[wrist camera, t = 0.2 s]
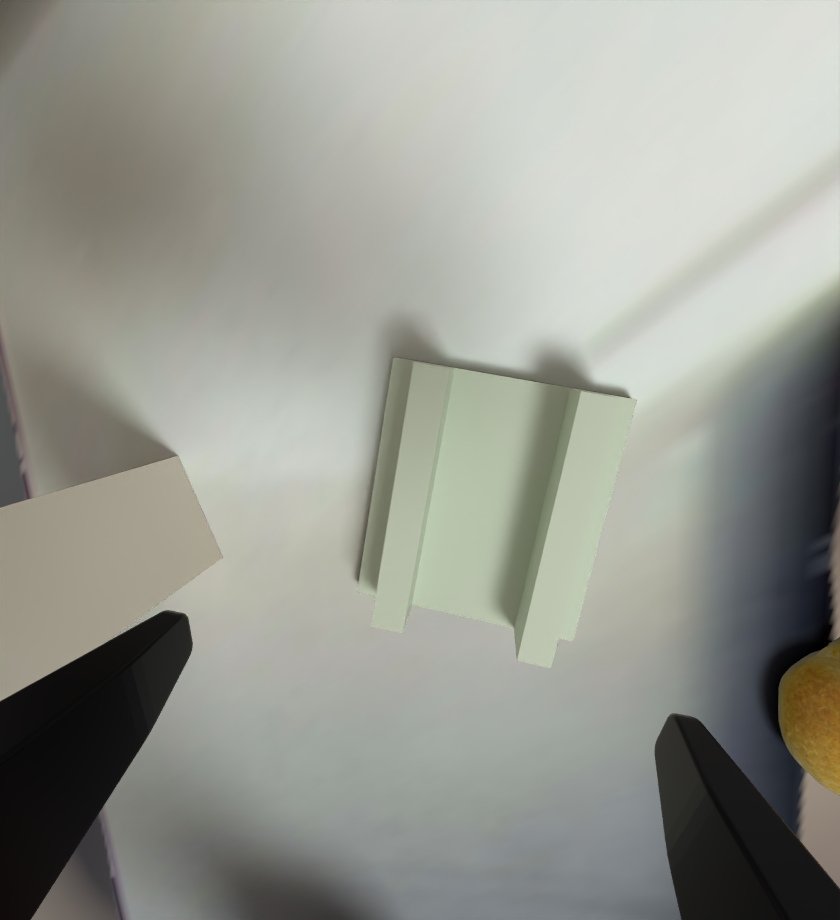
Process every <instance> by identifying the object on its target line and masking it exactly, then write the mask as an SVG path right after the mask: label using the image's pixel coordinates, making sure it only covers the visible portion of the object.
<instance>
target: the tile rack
mask: <svg viewBox="0 0 840 920" xmlns="http://www.w3.org/2000/svg"><path fill="white" fill-rule="evenodd" d="M636 401H637V400H636V399H632V398H626V397H621V396H615V395H609V394H603V393H598V392H592V391H586V390H580V389H575V388H569V387H563V386H557V385H552V384H546V383H540V382H534V381H529V380H523V379H517V378H512V377H506V376H500V375H494V374H489V373H483V372H477V371H471V370H466V369H460V368H454V367H448V366H443V365H437V364H431V363H425V362H420V361H414V360H408V359H403V358H397V357H393V361H392V367H391V374H390V380H389V387H388V393H387V400H386V407H385V413H384V420H383V426H382V433H381V439H380V446H379V452H378V459H377V465H376V472H375V479H374V485H373V492H372V498H371V505H370V511H369V518H368V524H367V531H366V537H365V544H364V551H363V557H362V564H361V570H360V577H359V583H358V590H357V593H361V594H366V595H370V596H375V603H374V610H373V616H372V622H371V626H372V627H376V628H380V629H385V630H389V631H393V632H398V633H402V634H403V631H404V628H405V625H406V622H407V619H408V616H409V613H410V610H411V607H412V605H414V606H418V607H423V608H427V609H432V610H436V611H440V612H445V613H449V614H453V615H458V616H462V617H467V618H471V619H475V620H480V621H484V622H489V623H493V624H497V625H502V626H506V627H510V628H514V633H515V644H516V655H517V661H521V662H525V663H529V664H534V665H538V666H542V667H546V668H551V667H552V663H553V659H554V655H555V651H556V647H557V643H558V639H563V640H567V641H572V642H573V640H574V636H575V632H576V628H577V625H578V621H579V617H580V613H581V609H582V606H583V602H584V598H585V594H586V591H587V587H588V583H589V579H590V575H591V572H592V568H593V564H594V560H595V557H596V553H597V549H598V545H599V541H600V538H601V534H602V530H603V526H604V522H605V519H606V515H607V511H608V507H609V504H610V500H611V496H612V492H613V488H614V485H615V481H616V477H617V473H618V470H619V466H620V462H621V458H622V454H623V451H624V447H625V443H626V439H627V435H628V432H629V428H630V424H631V420H632V417H633V413H634V409H635V405H636Z"/></svg>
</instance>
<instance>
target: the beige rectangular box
mask: <svg viewBox="0 0 840 920" xmlns="http://www.w3.org/2000/svg"><path fill="white" fill-rule="evenodd" d="M222 558H223V557H222V555H221V552H220V550H219V548H218V545H217V543H216V541H215V539H214V536H213V534H212V532H211V530H210V527H209V525H208V523H207V520H206V518H205V516H204V514H203V511H202V509H201V507H200V505H199V502H198V500H197V498H196V495H195V493H194V491H193V489H192V486H191V484H190V482H189V480H188V477H187V475H186V473H185V470H184V468H183V466H182V464H181V461H180V459H179V457H178V456H176V457H172V458H169V459H165V460H162V461H158V462H155V463H152V464H148V465H145V466H141V467H138V468H135V469H131V470H128V471H124V472H121V473H117V474H114V475H111V476H107V477H104V478H100V479H97V480H94V481H90V482H87V483H83V484H80V485H76V486H73V487H70V488H66V489H63V490H59V491H56V492H52V493H49V494H46V495H42V496H39V497H35V498H32V499H29V500H25V501H22V502H18V503H15V504H11V505H8V506H5V507H2V508H0V701H1V700H3V699H5V698H7V697H8V696H10V695H12V694H14V693H16V692H17V691H19V690H21V689H23V688H25V687H26V686H28V685H30V684H32V683H34V682H36V681H37V680H39V679H41V678H43V677H45V676H46V675H48V674H50V673H52V672H54V671H55V670H57V669H59V668H61V667H63V666H64V665H66V664H68V663H70V662H72V661H73V660H75V659H77V658H79V657H81V656H83V655H84V654H86V653H88V652H90V651H92V650H93V649H95V648H97V647H99V646H101V645H102V644H104V643H105V642H107V641H108V640H109V639H111V638H112V637H114V636H115V635H116V634H118V633H119V632H121V631H122V630H123V629H125V628H126V627H127V626H129V625H130V624H132V623H133V622H134V621H136V620H137V619H139V618H140V617H141V616H143V615H144V614H145V613H147V612H148V611H150V610H151V609H152V608H154V607H155V606H157V605H158V604H159V603H161V602H162V601H163V600H165V599H166V598H168V597H169V596H170V595H172V594H173V593H175V592H176V591H177V590H179V589H180V588H181V587H183V586H184V585H186V584H187V583H188V582H190V581H191V580H193V579H194V578H195V577H197V576H198V575H199V574H201V573H202V572H204V571H205V570H206V569H208V568H209V567H211V566H212V565H213V564H215V563H216V562H217V561H219V560H220V559H222Z"/></svg>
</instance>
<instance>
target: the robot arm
mask: <svg viewBox="0 0 840 920" xmlns="http://www.w3.org/2000/svg"><path fill="white" fill-rule="evenodd" d="M192 645H193V642H192V636H191V631H190V625H189V620H188V617H187V615H186V614H184V613H180V612H175V611H170V610H166V611H163V612H160V613H158V614H157V615H155V616H153V617H151V618H149V619H148V620H146V621H144V622H142V623H140V624H139V625H137V626H135V627H133V628H131V629H129V630H128V631H126V632H124V633H122V634H120V635H119V636H117V637H115V638H113V639H111V640H110V641H108V642H106V643H104V644H102V645H101V646H99V647H97V648H95V649H93V650H92V651H90V652H88V653H86V654H84V655H83V656H81V657H79V658H77V659H75V660H73V661H72V662H70V663H68V664H66V665H64V666H63V667H61V668H59V669H57V670H55V671H54V672H52V673H50V674H48V675H46V676H45V677H43V678H41V679H39V680H37V681H36V682H34V683H32V684H30V685H28V686H26V687H25V688H23V689H21V690H19V691H17V692H16V693H14V694H12V695H10V696H8V697H7V698H5V699H3V700H1V701H0V920H31V919H32V917H33V915H34V914H35V912H36V911H37V909H38V908H39V906H40V904H41V903H42V901H43V900H44V898H45V897H46V895H47V893H48V892H49V890H50V889H51V887H52V886H53V884H54V883H55V881H56V879H57V878H58V876H59V875H60V873H61V872H62V870H63V868H64V867H65V865H66V863H67V862H68V861H69V859H70V857H71V856H72V854H73V853H74V851H75V849H76V848H77V847H78V845H79V843H80V842H81V840H82V838H83V837H84V836H85V834H86V833H87V831H88V829H89V828H90V826H91V825H92V823H93V822H94V820H95V818H96V817H97V815H98V814H99V812H100V811H101V809H102V808H103V806H104V804H105V803H106V801H107V800H108V798H109V797H110V795H111V793H112V792H113V790H114V789H115V787H116V786H117V784H118V782H119V781H120V779H121V778H122V776H123V775H124V773H125V772H126V770H127V768H128V767H129V765H130V764H131V762H132V761H133V759H134V757H135V756H136V754H137V753H138V751H139V750H140V748H141V747H142V745H143V743H144V742H145V740H146V738H147V737H148V735H149V733H150V732H151V730H152V728H153V726H154V724H155V723H156V721H157V719H158V717H159V715H160V713H161V711H162V709H163V707H164V705H165V703H166V701H167V699H168V697H169V695H170V694H171V692H172V690H173V688H174V686H175V684H176V682H177V680H178V678H179V676H180V674H181V672H182V670H183V668H184V666H185V664H186V663H187V661H188V659H189V657H190V654H191V651H192ZM655 761H656V769H657V777H658V786H659V794H660V802H661V810H662V818H663V826H664V834H665V842H666V849H667V855H668V860H669V865H670V870H671V875H672V880H673V884H674V889H675V893H676V898H677V902H678V907H679V911H680V916H681V920H840V888H839V887H838V886H837V885H836V883H835V882H834V881H833V880H832V879H831V878H830V877H829V875H828V874H827V873H826V871H825V870H824V869H823V868H822V867H821V866H820V864H819V863H818V862H817V861H816V860H815V858H814V857H813V856H812V855H811V854H810V852H809V851H808V850H807V849H806V847H805V846H804V845H803V844H802V843H801V841H800V840H799V839H798V838H797V837H796V835H795V834H794V833H793V832H792V831H791V829H790V828H789V827H788V826H787V825H786V823H785V822H784V821H783V820H782V819H781V817H780V816H779V815H778V814H777V813H776V811H775V810H774V809H773V808H772V807H771V805H770V804H769V803H768V802H767V801H766V799H765V798H764V797H763V796H762V795H761V793H760V792H759V791H758V790H757V789H756V787H755V786H754V785H753V784H752V783H751V781H750V780H749V779H748V778H747V777H746V775H745V774H744V773H743V772H742V771H741V769H740V768H739V767H738V766H737V765H736V763H735V762H734V761H733V760H732V759H731V757H730V756H729V755H728V754H727V753H726V751H725V750H724V749H723V748H722V747H721V745H720V744H719V743H718V742H717V741H716V739H715V738H714V737H713V736H712V735H711V733H710V732H709V731H708V730H707V729H706V727H705V726H704V725H703V724H702V723H701V722H700V721H699V720H698V719H696V718H694V717H691V716H686V715H681V714H676V713H673V714H671V715H669V717H668V718H667V720H666V722H665V724H664V726H663V728H662V730H661V732H660V734H659V736H658V738H657V741H656V744H655Z"/></svg>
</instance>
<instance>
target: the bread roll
mask: <svg viewBox="0 0 840 920" xmlns="http://www.w3.org/2000/svg"><path fill="white" fill-rule="evenodd" d="M778 716H779V725H780V729H781V733H782V737H783V739H784V742H785V744H786V746H787V748H788V750H789V751H790V753H791V754H792V756H793V757H794V758H795V759H796V761H797V762H798V763H799V764H800V765H801V766H802V767H803V768H804V769H805V770H806V771H807V772H808V773H809V774H810V775H811V776H812V777H813V778H814V779H816V780H817V781H818V782H819V783H820V784H821V785H823V786H824V787H826V788H828V789H829V790H831V791H832V792H834V793H836V794H838V795H840V637H839V638H838V639H836V640H834V641H832V642H831V643H829V644H828V646H827V647H825V648H823V649H822V650H819V651H816V652H813V653H811V654H809V655H807V656H805V657H804V658H802V659H801V660H799V661H798V662H797V663H795V664H794V665H792V666H791V667H790V668H789V669H788V670H787V671H786V673H785V674H784V675H783V676H782V678H781V681H780V684H779V695H778Z"/></svg>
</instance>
